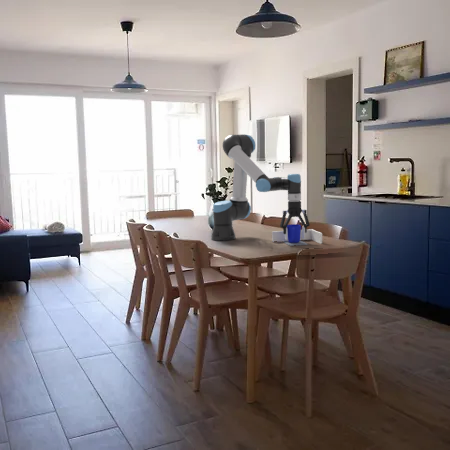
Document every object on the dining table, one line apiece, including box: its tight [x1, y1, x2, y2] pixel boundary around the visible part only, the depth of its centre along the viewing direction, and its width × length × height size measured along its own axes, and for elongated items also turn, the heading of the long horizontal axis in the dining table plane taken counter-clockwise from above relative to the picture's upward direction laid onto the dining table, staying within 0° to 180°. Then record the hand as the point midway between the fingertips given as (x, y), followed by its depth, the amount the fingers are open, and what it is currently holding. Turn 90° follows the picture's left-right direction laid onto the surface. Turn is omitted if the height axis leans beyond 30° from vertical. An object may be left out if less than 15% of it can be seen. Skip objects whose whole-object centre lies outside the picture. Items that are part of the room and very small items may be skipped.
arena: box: [271, 228, 323, 245], centre depth 310 cm, size 25×17×6 cm
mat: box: [281, 240, 309, 247], centre depth 308 cm, size 11×15×1 cm
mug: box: [286, 223, 302, 243], centre depth 307 cm, size 8×12×10 cm
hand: (295, 238), depth 307 cm, fingers open, 10 cm apart
